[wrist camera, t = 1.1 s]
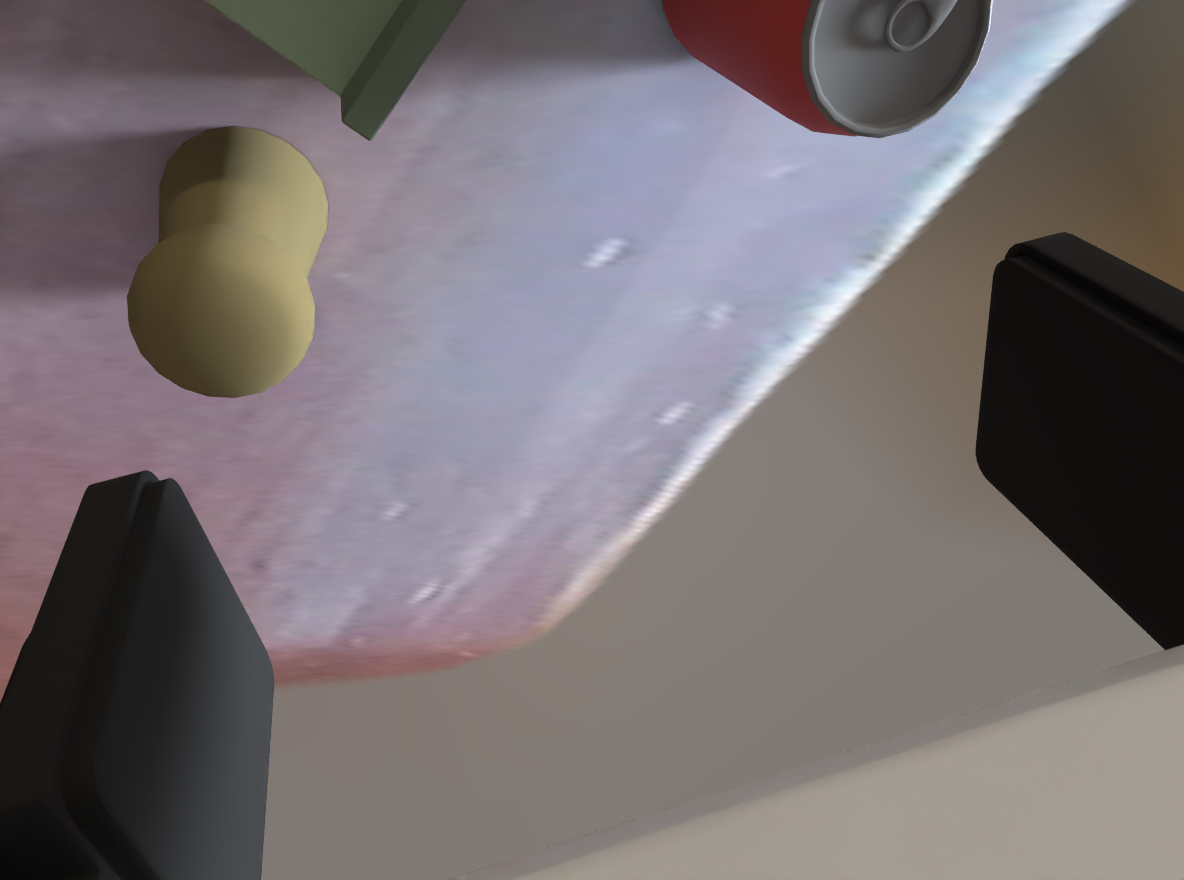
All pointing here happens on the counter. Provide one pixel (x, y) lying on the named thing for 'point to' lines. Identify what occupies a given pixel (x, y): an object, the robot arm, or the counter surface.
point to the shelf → (350, 45)
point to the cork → (230, 264)
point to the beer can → (839, 56)
